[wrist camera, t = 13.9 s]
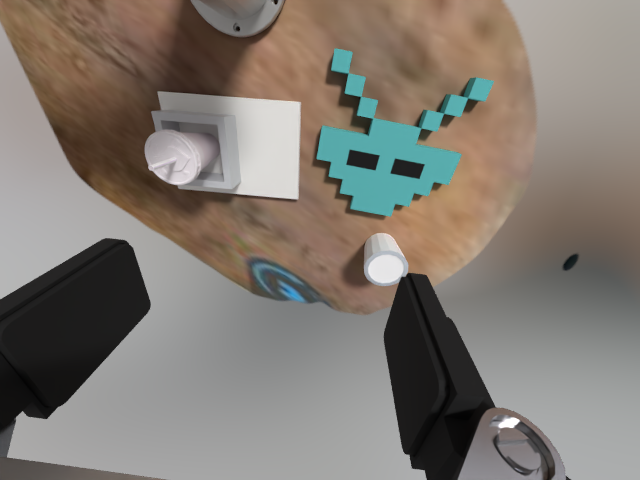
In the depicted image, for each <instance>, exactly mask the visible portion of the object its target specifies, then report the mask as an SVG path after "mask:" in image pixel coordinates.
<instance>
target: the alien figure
mask: <svg viewBox="0 0 640 480" xmlns="http://www.w3.org/2000/svg"><path fill="white" fill-rule="evenodd" d="M352 53H353V52H350V51H345V50H341V49H336V48H335V50H334V56H333V62H332V68H331V71H333V72H338V73H343V74H348V78H347V83H346V89H345V94H349V95H354V96H359V97H360V101H359V106H358V110H357V116H362V117H367V118H372V120H371V124H370V128H369V132H368V134H363V133H358V132H353V131H348V130H343V129H338V128H333V127H328V126H322V129H321V135H320V141H319V148H318V154H317V159H319V160H324V161H329V162H331V166H330V171H329V177H333V178H338V179H342V182H341V187H340V193H342V194H347V195H352V199H351V203H350V209H354V210H359V211H364V212H370V213H375V214H380V215H385V216H390V217H391V215H392V212H393V209H394V206H395V204H398V205H403V206H409V205H410V203H411V200H412V198H413V195H414V193H415V194H420V195H425V196H428V195H429V193H430V190H431V188H432V186H433V183H434V182H436V183H441V184H446V185H449V182H450V180H451V178H452V176H453V173H454V171H455V169H456V167H457V164H458V162H459V160H460V157H461V155H462V154H460V153H457V152H453V151H448V150H443V149H438V148H433V147H428V146H423V145H418V144H416V143H417V140H418V137H419V134H420V131H421V128H422V129H427V130H432V131H438V128H439V126H440V123H441V121H442V118H443V115H444V114H448V115H453V116H458V117H461V115H462V112H463V110H464V107H465V105H466V102H467V100H468V99H471V100H476V101H486V98H487V96H488V94H489V92H490V89H491V87H492V85H493V82H494V81H491V80H486V79H481V78H470V80H469V83H468V85H467V88H466V90H465V93H464V95H463V97H461V96H456V95H452V94H449V95H446V97H445V100H444V102H443V105H442V108H441V110H440V113H438V112H434V111H429V110H424V111H423V114H422V117H421V120H420V123H419V126H418V127H415V126H410V125H405V124H400V123H395V122H391V121H386V120H381V119H376V118H374V114H375V110H376V106H377V102H378V100H374V99H369V98H364V97H361V96H362V92H363V87H364V83H365V78H366V77H363V76H359V75H354V74H349V69H350V63H351V58H352Z"/></svg>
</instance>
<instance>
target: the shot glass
mask: <svg viewBox="0 0 640 480" xmlns="http://www.w3.org/2000/svg"><path fill="white" fill-rule="evenodd" d="M407 272H408V263H407V261H406V259H405V257H404V255H403V253H402V252H401V250H400V248H399V247H398V245H397V243H396V242H395V240H394V238H393V237H391V236H390V235H389V234H385V233H377V234H374V235H372V236H370V237H369V238H368V239H367V240H366V243H365V246H364V274H365V276H366V277H367V279H368V280H369V281H370V282H372V283H373V284H376V285H380V286H391V285H393V284H396V283H398V282H399V281H400V278H401V277H402V276H403V277H405V275H406V274H407Z"/></svg>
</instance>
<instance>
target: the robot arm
mask: <svg viewBox="0 0 640 480" xmlns="http://www.w3.org/2000/svg"><path fill="white" fill-rule="evenodd" d="M190 1H191V3H192V4H193V5H194V7H195V8H196V10H197V11H198V13H199V14H200V15H201V16H202V17H203V18H204V19H205V20H206V21H207V22H208V23H209V24H210V25H212V26H213V27H214V28H216V29H217V30H219V31H221V32H223V33H225V34H228V35H230V36H234V37H251V36H254V35H256V34H259V33H261V32H262V31H264V30H265V29H267V28H268V27H269V26H270V25H271V24H272V23H273V22H274V20H275V19H276V17H277V16H278V14H279V13H280V11H281V9H282V6H283V4H284V1H285V0H278V4H277V5H275V4H274V2H275V0H190ZM238 27H240V31H239V32H238V30H237V28H238ZM150 305H151V304H150V300H149V296H148V293H147V290H146V287H145V284H144V281H143V278H142V275H141V272H140V268H139V265H138V262H137V259H136V256H135V253H134V250H133V248H132V247H131V246H130V245H129V243H128V242H127V241H125V240H118V239H110V238H105V239H103V240H101V241H99V242H97V243H96V244H94V245H92V246H91V247H89V248H87V249H85V250H84V251H82V252H80V253H79V254H77V255H75V256H73V257H72V258H70V259H68V260H67V261H65V262H63V263H62V264H60V265H58V266H56V267H55V268H53V269H51V270H50V271H48V272H46V273H45V274H43V275H41V276H39V277H38V278H36V279H34V280H33V281H31V282H30V283H28V284H26V285H24V286H22V287H21V288H19V289H17V290H16V291H14V292H12V293H10V294H9V295H7V296H6V297H4V298H2V299H0V480H165V479H158V478H151V477H144V476H137V475H129V474H122V473H115V472H108V471H101V470H94V469H86V468H79V467H72V466H65V465H57V464H51V463H43V462H35V461H28V460H21V459H13V458H7V454H8V450H9V446H10V442H11V438H12V434H13V430H14V426H15V422H16V416H18V415H19V414H20V413H21V412H22V411H23V412H24V413H25V414H26V415H27V416H28V417H36V418H43V419H47V418H48V417H49V416H50V415H51V414H52V413H53V412H54V411H55V410H56V408H57V407H59V406H61V405H63V404H64V403H66V402H67V401H68V399H69V398H70V397H71V396H72V395H73V394H74V393H75V392H76V391H77V390H78V389H79V388H80V386H81V385H82V384H83V383H84V382H85V381H86V380H87V379H88V378H89V377H90V375H91V374H92V373H93V372H94V371H95V370H96V369H97V368H98V367H99V366H100V364H101V363H102V362H103V361H104V360H105V359H106V358H107V357H108V356H109V355H110V353H111V352H112V351H113V350H114V349H115V348H116V347H117V346H118V345H119V344H120V342H121V341H122V340H123V339H124V338H125V337H126V336H127V335H128V334H129V332H131V330H132V329H133V328H134V327H135V326H136V325H137V324H138V322H140V321H141V319H142V318H143V317H144V316H145V315H146V314H147V313H148V311H149V309H150ZM384 343H385V350H386V356H387V362H388V368H389V373H390V379H391V385H392V391H393V397H394V403H395V409H396V415H397V420H398V427H399V432H400V438H401V444H402V448H403V452H404V453H405V454H408V455H410V460H411V466H412V468H413V469H420V470H425V473H426V478H427V480H571V479H569V478H568V477H567V476H566V475H565V467H564V465H563V462H562V460H561V458H560V455H559V453H558V452H557V450H556V449H555V447H554V446H553V445H552V443H551V441H550V440H549V439H548V438H547V437H546V436H545V435H544V433H543V432H542V431H541V430H540V429H539V428H537V426H535V425H534V424H533V423H532V422H530V421H529V420H528V419H527V418H525V417H523V416H521V415H520V414H518V413H516V412H514V411H511V410H508V409H505V408H496V407H495V405H494V403H493V401H492V399H491V397H490V395H489V393H488V391H487V389H486V387H485V385H484V383H483V381H482V379H481V377H480V375H479V373H478V371H477V368H476V366H475V365H474V362H473V360H472V358H471V357H470V354H469V352H468V350H467V348H466V346H465V344H464V342H463V340H462V338H461V336H460V334H459V332H458V330H457V328H456V326H455V324H454V323H453V321H452V320H451V319H450V318H449V317H446V315H445V312H444V310H443V308H442V306H441V304H440V302H439V300H438V298H437V296H436V294H435V291H434V290H433V287H432V285H431V283H430V281H429V279H428V277H427V275H423V274H414V273H408V274H407V275H406V277H403V276H402V277H401V278H400V281H399V285H398V288H397V291H396V295H395V298H394V301H393V305H392V308H391V311H390V315H389V318H388V321H387V324H386V328H385V331H384Z"/></svg>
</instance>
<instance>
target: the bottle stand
mask: <svg viewBox="0 0 640 480" xmlns="http://www.w3.org/2000/svg"><path fill="white" fill-rule="evenodd" d="M157 92H158V97H159V102H160V106H161V110H159V111H151V113H152V117H153V121H154V126H155V130H156V132H157V131H160V130H165V129H168V130H175V131H177V132H186V133H209V134H212V135H213V136H215V137H216V138H217V140H218V141H219V144H220V153H219V155H218V156H217V157H216V158H215V159H214V160H212V161H211V162H210V163H209V164H208V165H207V166H206V167H205V168H203V169H202V170H201V171H200V173H199V175H198V177H197V178H196V179H195V180H194V181H192V182H190V183H187V184H184V185H178V189H187V190H198V191H209V192H220V193H231V194H243V195H254V196H265V197H276V198H287V199H298V198H299V168H300V129H301V102H293V101H280V100H267V99H253V98H240V97H227V96H214V95H201V94H188V93H175V92H162V91H157ZM168 184H170V183H168Z"/></svg>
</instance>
